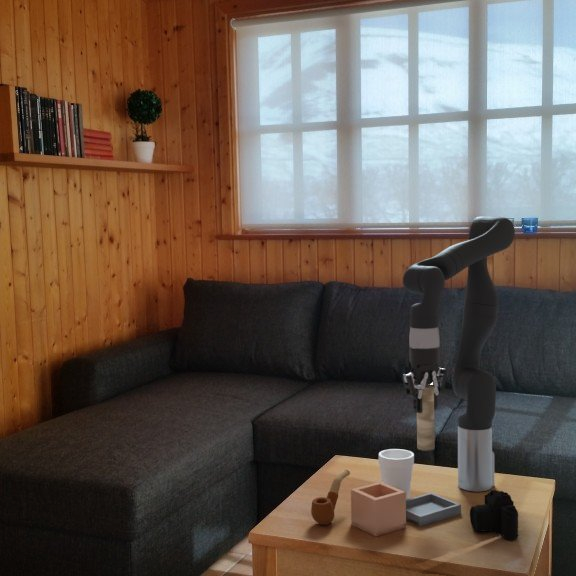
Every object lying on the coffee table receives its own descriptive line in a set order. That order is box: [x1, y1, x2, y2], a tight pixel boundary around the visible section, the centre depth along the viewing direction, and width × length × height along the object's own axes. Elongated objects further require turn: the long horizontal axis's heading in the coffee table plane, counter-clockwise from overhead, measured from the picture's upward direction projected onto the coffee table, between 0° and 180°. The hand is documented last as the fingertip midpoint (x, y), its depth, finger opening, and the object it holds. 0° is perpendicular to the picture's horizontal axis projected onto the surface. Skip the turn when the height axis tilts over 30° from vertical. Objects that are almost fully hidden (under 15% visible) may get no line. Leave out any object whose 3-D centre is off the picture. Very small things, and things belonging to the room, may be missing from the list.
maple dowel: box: [416, 384, 436, 452], centre depth 202 cm, size 4×4×16 cm
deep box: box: [350, 481, 407, 537], centre depth 197 cm, size 10×10×9 cm
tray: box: [406, 492, 462, 527], centre depth 205 cm, size 14×11×2 cm
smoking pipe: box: [310, 469, 351, 526], centre depth 204 cm, size 7×18×6 cm
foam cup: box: [378, 448, 415, 500], centre depth 213 cm, size 10×9×13 cm
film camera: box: [469, 489, 519, 541], centre depth 194 cm, size 15×10×9 cm, turn 5°
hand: (425, 410), depth 202 cm, fingers closed on maple dowel, 4 cm apart
